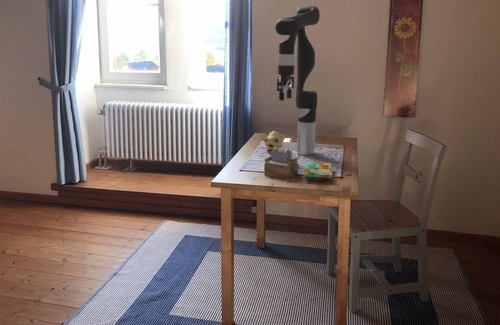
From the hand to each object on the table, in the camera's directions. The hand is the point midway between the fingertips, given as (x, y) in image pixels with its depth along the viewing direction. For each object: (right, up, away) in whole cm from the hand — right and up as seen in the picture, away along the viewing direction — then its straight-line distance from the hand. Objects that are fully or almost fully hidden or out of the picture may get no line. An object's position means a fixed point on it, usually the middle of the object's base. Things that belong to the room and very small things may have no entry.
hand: (285, 99), depth 225 cm
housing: (-2, -29, -7) cm, 30 cm away
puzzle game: (+14, -36, -8) cm, 40 cm away
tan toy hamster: (-4, -23, +38) cm, 45 cm away
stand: (-2, -35, -6) cm, 35 cm away
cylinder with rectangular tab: (+1, -31, +11) cm, 33 cm away
